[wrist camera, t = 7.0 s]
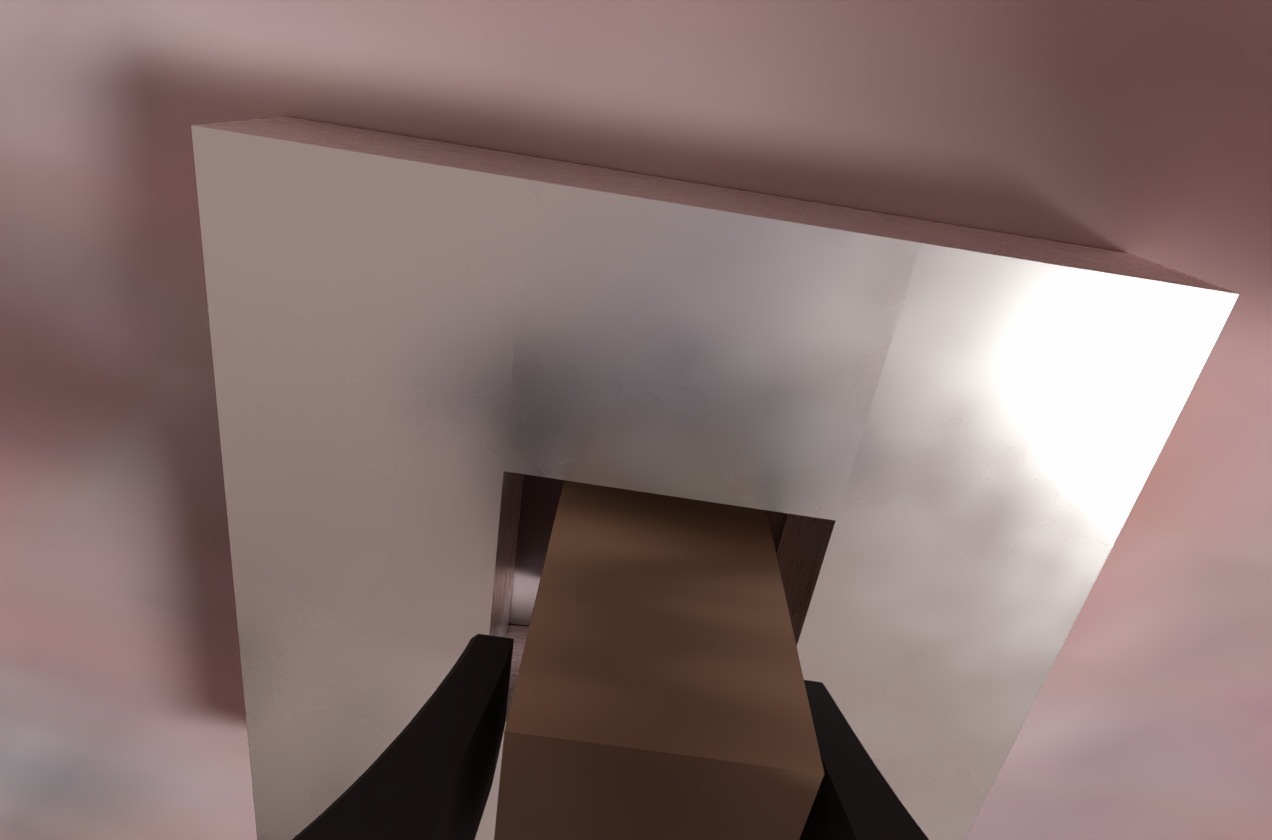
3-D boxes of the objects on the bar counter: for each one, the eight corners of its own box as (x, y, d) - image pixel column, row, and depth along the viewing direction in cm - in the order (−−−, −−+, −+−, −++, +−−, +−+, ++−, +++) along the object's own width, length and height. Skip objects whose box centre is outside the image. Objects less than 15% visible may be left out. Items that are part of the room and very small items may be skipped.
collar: (1128, 253, 14) (1239, 293, 11) (885, 820, 21) (919, 930, 18) (285, 115, 14) (191, 125, 11) (312, 741, 20) (257, 844, 18)
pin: (755, 458, 16) (825, 773, 9) (719, 599, 18) (755, 955, 11) (575, 432, 16) (504, 731, 9) (557, 576, 18) (485, 922, 11)
